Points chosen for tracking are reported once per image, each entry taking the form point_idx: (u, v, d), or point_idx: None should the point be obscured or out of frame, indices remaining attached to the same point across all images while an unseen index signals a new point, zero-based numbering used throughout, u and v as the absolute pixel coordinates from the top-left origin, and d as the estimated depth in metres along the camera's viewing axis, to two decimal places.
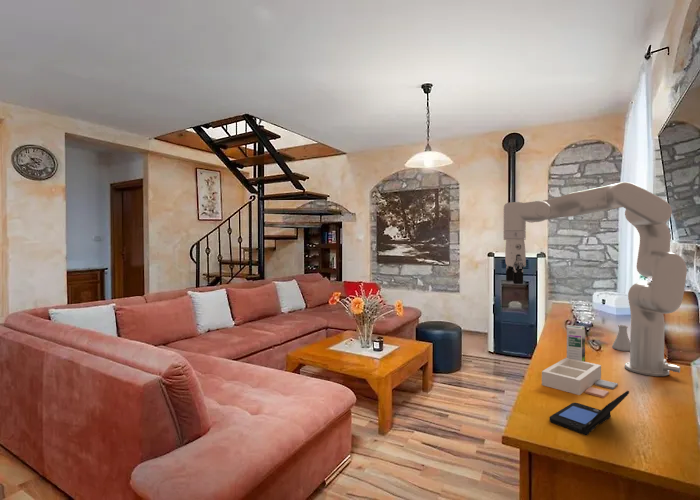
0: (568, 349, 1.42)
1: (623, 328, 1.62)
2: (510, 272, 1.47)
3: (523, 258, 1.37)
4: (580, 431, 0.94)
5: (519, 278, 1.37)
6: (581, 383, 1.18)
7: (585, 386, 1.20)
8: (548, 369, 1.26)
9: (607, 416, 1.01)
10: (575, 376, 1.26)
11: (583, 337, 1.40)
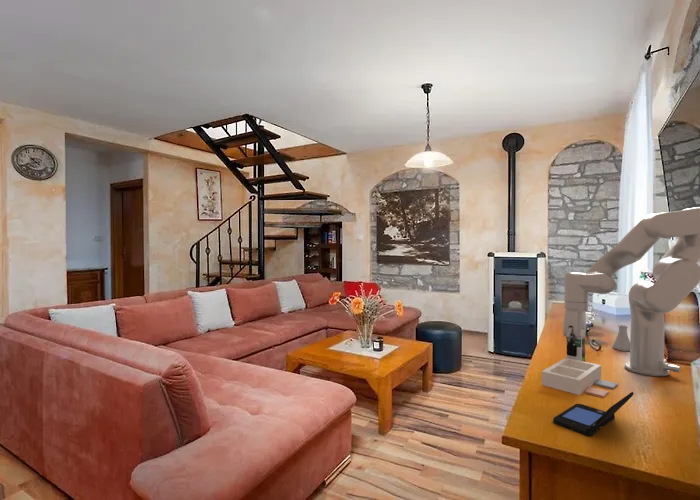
0: None
1: (623, 328, 1.62)
2: None
3: None
4: (584, 433, 0.93)
5: None
6: (581, 383, 1.18)
7: (585, 386, 1.20)
8: (548, 369, 1.26)
9: (611, 417, 1.00)
10: (575, 376, 1.26)
11: (583, 337, 1.40)
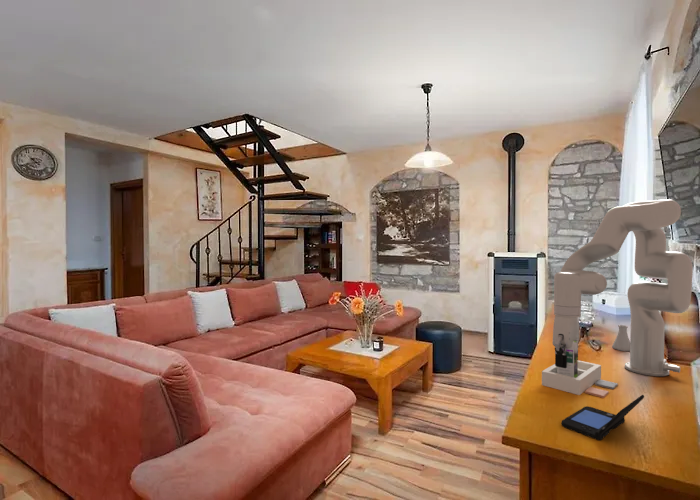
0: None
1: (623, 328, 1.62)
2: None
3: None
4: (593, 436, 0.91)
5: None
6: (581, 383, 1.18)
7: (585, 386, 1.20)
8: (548, 369, 1.26)
9: (621, 421, 0.98)
10: None
11: (575, 351, 1.21)
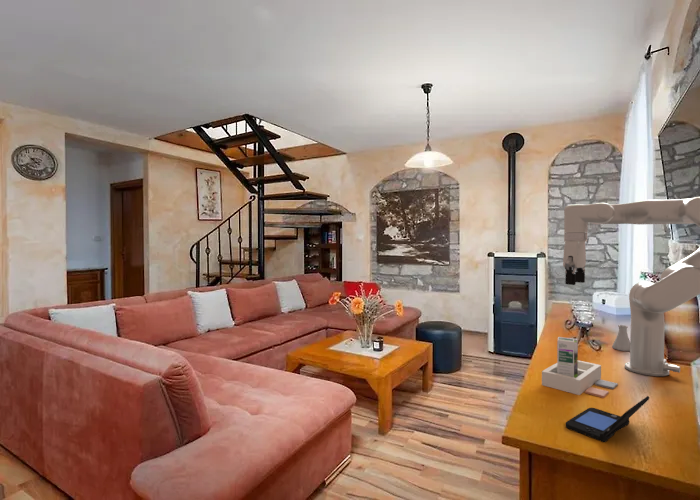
0: (558, 365, 1.23)
1: (623, 328, 1.62)
2: None
3: None
4: (598, 438, 0.91)
5: None
6: (581, 383, 1.18)
7: (585, 386, 1.20)
8: (548, 369, 1.26)
9: (626, 422, 0.97)
10: None
11: (575, 351, 1.21)
